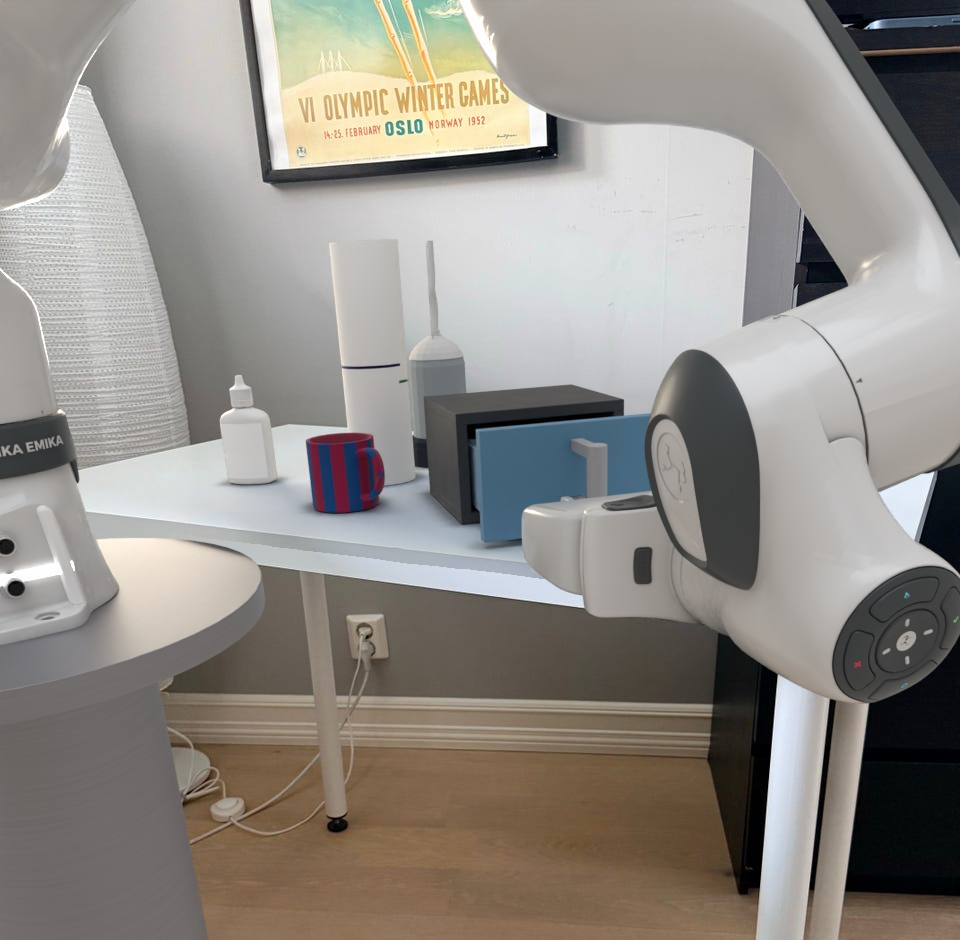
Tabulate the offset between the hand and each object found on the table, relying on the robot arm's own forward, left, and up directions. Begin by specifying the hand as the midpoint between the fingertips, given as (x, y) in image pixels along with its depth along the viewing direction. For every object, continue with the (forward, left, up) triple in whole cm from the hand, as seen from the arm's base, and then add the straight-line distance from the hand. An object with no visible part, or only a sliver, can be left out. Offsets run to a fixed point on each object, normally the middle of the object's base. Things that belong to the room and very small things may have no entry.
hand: (631, 499), depth 67 cm
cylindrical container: (+13, +43, -6) cm, 45 cm away
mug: (+2, +35, -6) cm, 35 cm away
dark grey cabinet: (+14, +23, -6) cm, 27 cm away
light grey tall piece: (+24, +45, -6) cm, 51 cm away
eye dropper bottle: (+3, +56, -6) cm, 56 cm away
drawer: (+8, +13, -5) cm, 16 cm away
